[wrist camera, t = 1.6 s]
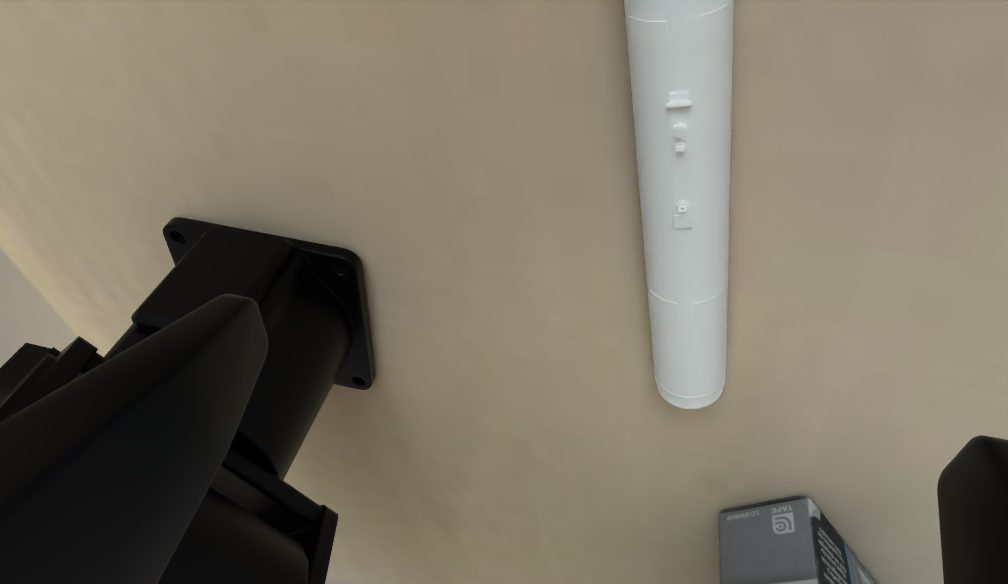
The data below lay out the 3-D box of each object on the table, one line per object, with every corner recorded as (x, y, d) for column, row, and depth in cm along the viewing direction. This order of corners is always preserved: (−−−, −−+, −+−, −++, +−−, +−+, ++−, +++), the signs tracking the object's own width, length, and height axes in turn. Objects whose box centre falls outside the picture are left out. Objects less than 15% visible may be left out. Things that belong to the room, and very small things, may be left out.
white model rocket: (594, -464, 10) (571, -490, 8) (742, -515, 9) (750, -552, 8) (656, 357, 21) (652, 415, 20) (725, 358, 21) (727, 419, 19)
